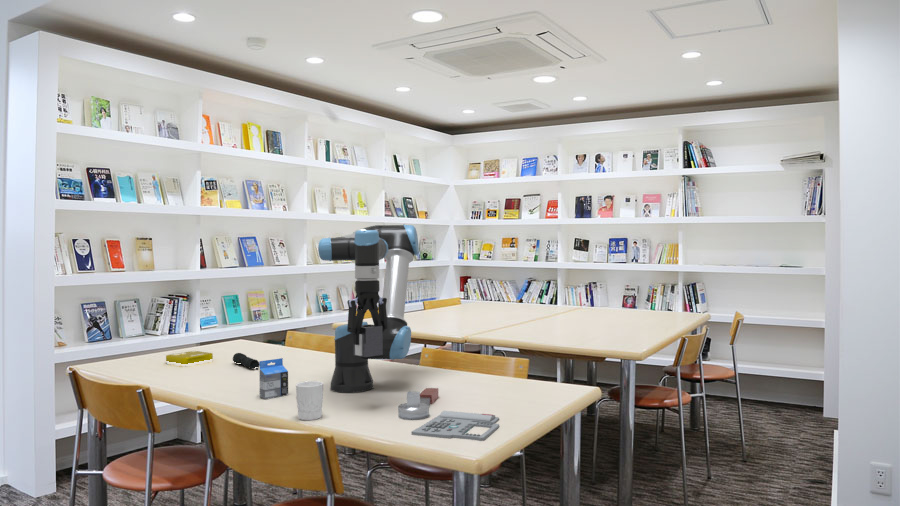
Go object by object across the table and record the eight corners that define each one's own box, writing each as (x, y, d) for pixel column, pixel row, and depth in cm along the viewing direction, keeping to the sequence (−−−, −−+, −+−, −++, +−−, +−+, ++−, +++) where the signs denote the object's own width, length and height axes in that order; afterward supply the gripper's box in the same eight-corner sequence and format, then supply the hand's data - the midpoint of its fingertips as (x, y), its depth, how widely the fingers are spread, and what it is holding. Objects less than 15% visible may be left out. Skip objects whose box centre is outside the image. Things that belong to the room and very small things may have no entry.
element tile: (184, 368, 273) (184, 357, 273) (164, 365, 282) (163, 354, 282) (214, 362, 286) (214, 352, 286) (194, 359, 294) (193, 349, 294)
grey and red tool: (424, 420, 184) (424, 396, 184) (394, 419, 186) (394, 395, 185) (445, 397, 212) (445, 376, 212) (419, 396, 214) (419, 375, 214)
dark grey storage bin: (366, 357, 194) (365, 327, 194) (353, 355, 198) (353, 326, 198) (382, 354, 198) (382, 325, 198) (370, 352, 203) (369, 324, 203)
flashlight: (243, 363, 283) (243, 352, 283) (260, 370, 266) (260, 358, 266) (232, 364, 280) (232, 353, 280) (248, 371, 263) (248, 359, 263)
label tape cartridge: (264, 399, 212) (264, 362, 212) (259, 397, 215) (258, 361, 215) (288, 395, 218) (288, 359, 218) (283, 393, 221) (282, 357, 221)
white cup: (298, 414, 193) (298, 381, 192) (325, 413, 193) (324, 380, 193) (294, 421, 185) (293, 387, 185) (322, 420, 185) (321, 386, 185)
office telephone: (443, 407, 192) (508, 412, 184) (444, 416, 192) (508, 421, 184) (411, 426, 170) (482, 433, 163) (411, 436, 170) (482, 443, 163)
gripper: (348, 281, 189) (349, 359, 189) (399, 278, 202) (399, 351, 202) (334, 280, 194) (335, 356, 194) (384, 278, 208) (385, 349, 208)
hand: (368, 353), depth 198 cm, fingers closed on dark grey storage bin, 6 cm apart
